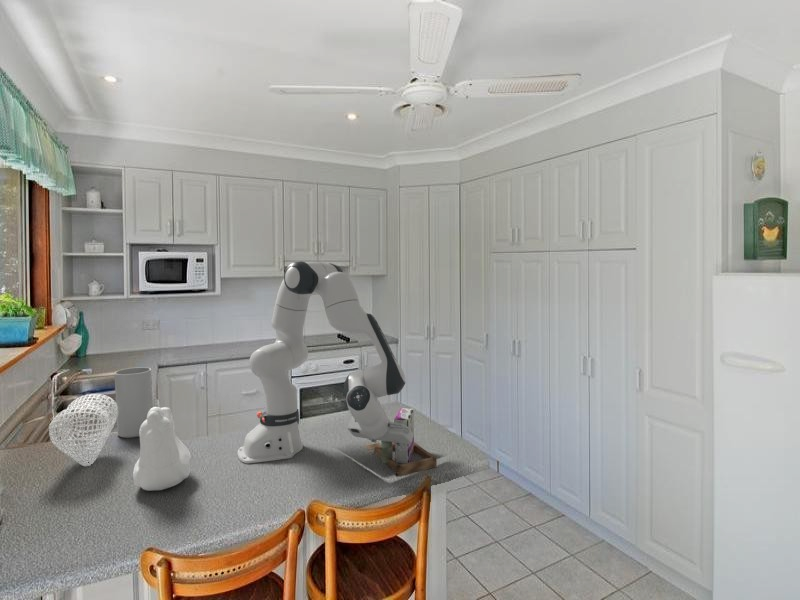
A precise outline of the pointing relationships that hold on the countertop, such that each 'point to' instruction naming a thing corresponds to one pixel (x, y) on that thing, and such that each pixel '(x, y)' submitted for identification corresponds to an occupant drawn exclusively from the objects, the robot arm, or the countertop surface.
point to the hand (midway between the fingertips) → (387, 442)
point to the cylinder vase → (132, 399)
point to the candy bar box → (406, 451)
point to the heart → (64, 426)
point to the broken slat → (372, 446)
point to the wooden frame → (407, 468)
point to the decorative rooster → (160, 453)
